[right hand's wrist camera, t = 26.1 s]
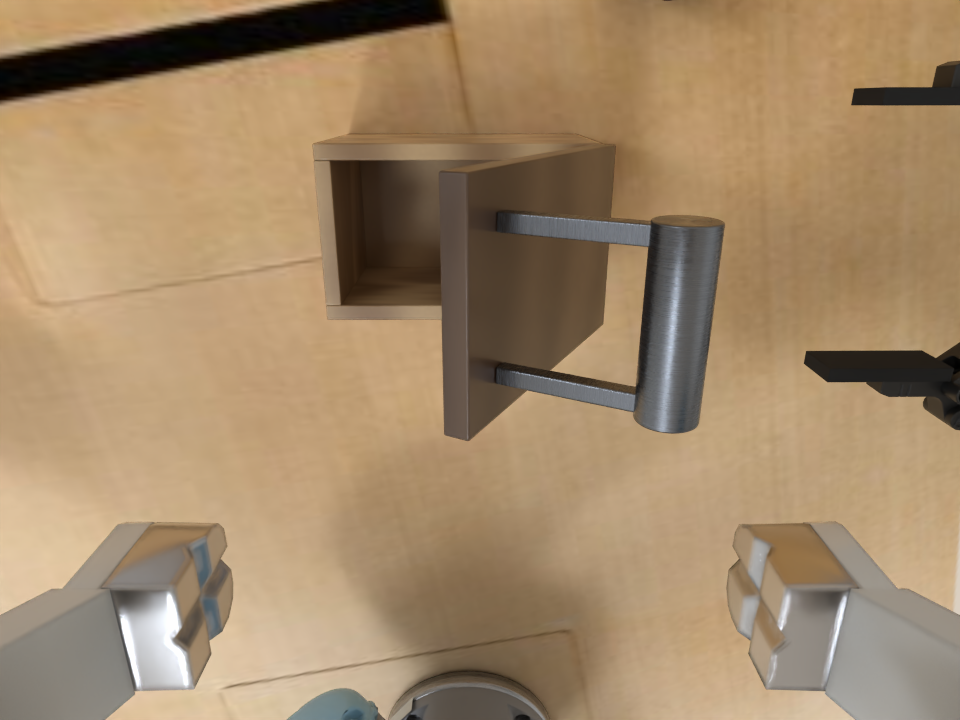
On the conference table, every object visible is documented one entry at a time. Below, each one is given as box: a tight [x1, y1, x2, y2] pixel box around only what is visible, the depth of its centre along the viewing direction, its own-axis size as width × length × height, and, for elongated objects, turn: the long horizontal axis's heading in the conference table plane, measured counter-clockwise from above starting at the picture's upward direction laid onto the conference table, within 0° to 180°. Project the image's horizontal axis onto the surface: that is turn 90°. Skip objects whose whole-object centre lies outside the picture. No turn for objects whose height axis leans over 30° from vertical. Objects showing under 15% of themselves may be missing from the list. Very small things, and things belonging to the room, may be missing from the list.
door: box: [439, 144, 725, 441], centre depth 27 cm, size 15×9×8 cm
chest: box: [313, 134, 602, 320], centre depth 40 cm, size 15×9×10 cm, turn 90°
